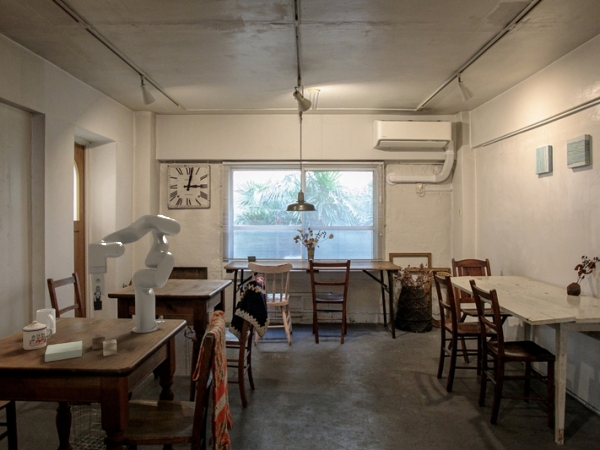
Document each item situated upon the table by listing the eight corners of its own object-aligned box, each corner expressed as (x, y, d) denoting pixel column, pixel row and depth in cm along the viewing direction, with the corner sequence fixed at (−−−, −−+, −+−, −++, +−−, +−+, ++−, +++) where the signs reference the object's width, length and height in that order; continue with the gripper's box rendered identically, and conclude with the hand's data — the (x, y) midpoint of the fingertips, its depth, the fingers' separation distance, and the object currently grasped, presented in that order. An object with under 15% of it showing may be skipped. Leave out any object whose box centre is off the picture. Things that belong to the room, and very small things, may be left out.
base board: (82, 347, 173) (82, 340, 173) (81, 356, 162) (81, 349, 162) (47, 352, 167) (47, 345, 167) (44, 361, 156) (44, 354, 156)
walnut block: (104, 344, 178) (104, 333, 178) (105, 347, 173) (104, 336, 173) (92, 346, 175) (92, 335, 175) (92, 349, 171) (92, 338, 171)
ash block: (115, 350, 169) (115, 339, 169) (116, 354, 165) (116, 342, 165) (103, 352, 167) (103, 341, 167) (103, 356, 162) (103, 344, 162)
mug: (43, 338, 187) (42, 314, 187) (33, 334, 194) (33, 310, 194) (61, 334, 193) (61, 310, 193) (51, 330, 200) (51, 307, 200)
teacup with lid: (29, 351, 168) (28, 325, 168) (18, 348, 173) (18, 322, 173) (57, 343, 179) (57, 318, 179) (47, 340, 183) (46, 316, 183)
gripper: (107, 271, 168) (107, 310, 168) (106, 267, 183) (106, 303, 183) (88, 272, 164) (88, 312, 165) (88, 268, 180) (88, 305, 180)
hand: (97, 308), depth 174 cm, fingers open, 9 cm apart
